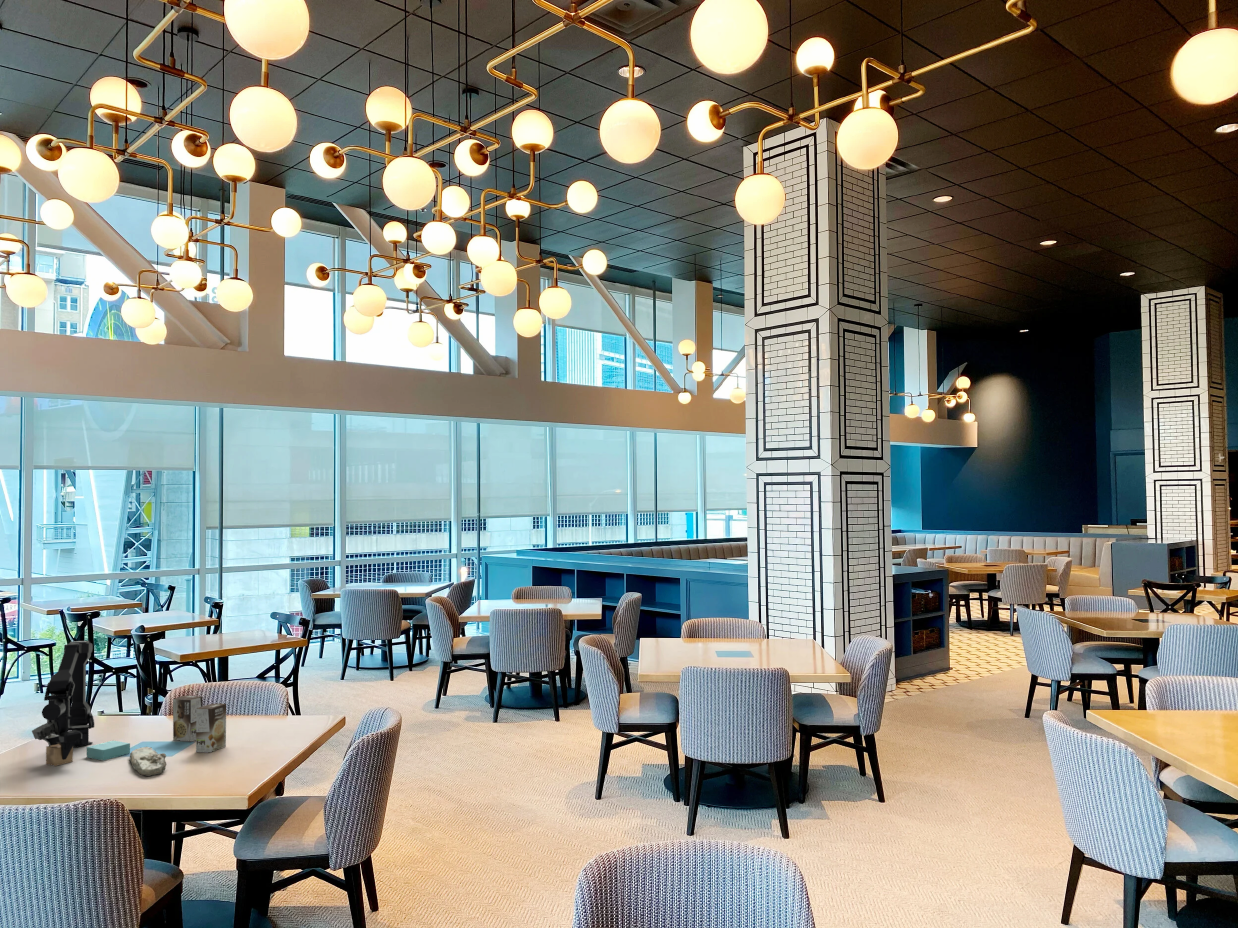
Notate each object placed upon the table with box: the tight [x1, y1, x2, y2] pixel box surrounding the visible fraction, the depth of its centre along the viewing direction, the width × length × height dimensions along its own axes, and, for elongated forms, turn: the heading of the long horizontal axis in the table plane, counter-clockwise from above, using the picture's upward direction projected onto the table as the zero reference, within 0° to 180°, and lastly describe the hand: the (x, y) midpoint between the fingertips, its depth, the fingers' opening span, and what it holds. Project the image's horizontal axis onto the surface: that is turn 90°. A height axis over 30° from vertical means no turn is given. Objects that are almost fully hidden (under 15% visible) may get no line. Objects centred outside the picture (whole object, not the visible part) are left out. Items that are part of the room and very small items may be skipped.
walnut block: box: [45, 744, 74, 767], centre depth 317 cm, size 6×6×6 cm
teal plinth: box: [86, 740, 131, 761], centre depth 326 cm, size 10×10×4 cm
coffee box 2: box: [195, 702, 227, 753], centre depth 332 cm, size 9×6×16 cm
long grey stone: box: [129, 746, 167, 777], centre depth 312 cm, size 35×5×10 cm
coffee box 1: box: [172, 695, 204, 742], centre depth 348 cm, size 9×6×16 cm
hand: (59, 758), depth 317 cm, fingers closed on walnut block, 6 cm apart
